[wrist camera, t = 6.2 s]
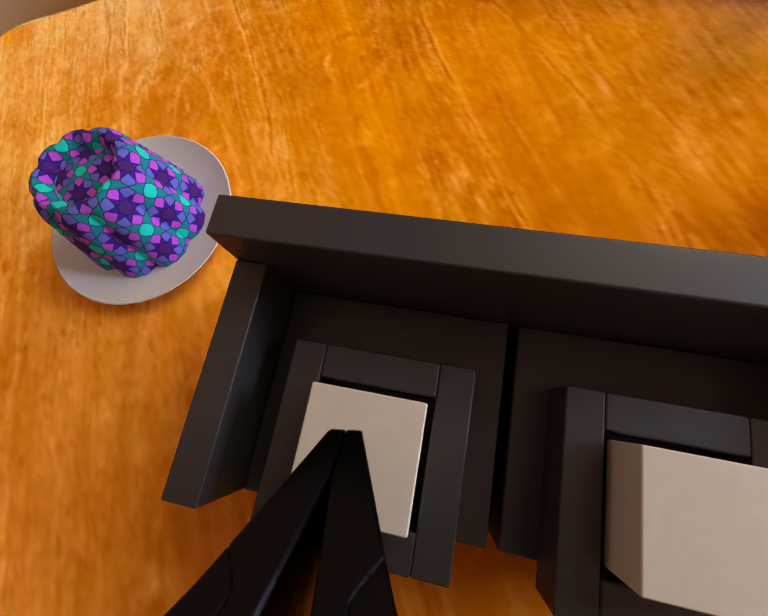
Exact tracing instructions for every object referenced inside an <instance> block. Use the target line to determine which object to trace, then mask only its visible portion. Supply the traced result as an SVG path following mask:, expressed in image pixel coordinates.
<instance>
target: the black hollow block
mask: <svg viewBox="0 0 768 616" xmlns="http://www.w3.org/2000/svg"><path fill="white" fill-rule="evenodd" d="M206 234H208V235H209V236H210V237H211V238H213V239H214V240H215V241H216V242H217V243H219V244H220V245H221V246H222V247H223V248H225V249H226V250H227V251H228V252H230V253H231V254H232V255H233V256H234V257H236V258H237V259H238V260H237V261H236V264H235V268H234V271H233V274H232V277H231V280H230V283H229V287H228V290H227V293H226V296H225V299H224V302H223V305H222V309H221V312H220V315H219V318H218V321H217V324H216V327H215V331H214V334H213V337H212V340H211V343H210V346H209V350H208V353H207V356H206V359H205V362H204V365H203V368H202V372H201V375H200V378H199V381H198V384H197V387H196V391H195V394H194V397H193V400H192V403H191V406H190V409H189V413H188V416H187V419H186V422H185V425H184V428H183V432H182V435H181V438H180V441H179V444H178V447H177V450H176V454H175V457H174V460H173V463H172V466H171V469H170V473H169V476H168V479H167V482H166V485H165V488H164V491H163V495H162V498H161V499H162V500H163V501H167V502H171V503H175V504H179V505H183V506H186V507H190V508H194V509H195V508H198V507H200V506H203V505H205V504H208V503H210V502H212V501H215V500H217V499H219V498H222V497H224V496H227V495H229V494H231V493H234V492H236V491H238V490H241V489H243V488H245V484H246V480H247V476H248V472H249V469H250V465H251V461H252V457H253V453H254V450H255V446H256V442H257V438H258V435H259V431H260V427H261V423H262V419H263V416H264V412H265V408H266V404H267V401H268V397H269V393H270V389H271V385H272V382H273V378H274V374H275V370H276V367H277V363H278V359H279V355H280V351H281V348H282V344H283V340H284V336H285V333H286V329H287V325H288V321H289V317H290V314H291V310H292V306H293V302H294V299H295V295H296V292H304V293H310V294H317V295H323V296H330V297H336V298H343V299H349V300H356V301H362V302H369V303H375V304H382V305H388V306H395V307H401V308H408V309H414V310H421V311H427V312H434V313H440V314H447V315H453V316H460V317H466V318H473V319H479V320H486V321H492V322H499V323H505V324H508V325H509V326H508V336H509V335H511V334H512V333H513V332H514V331H515V330H516V329H517V328H518V327H520V326H524V327H530V328H537V329H543V330H550V331H556V332H563V333H569V334H576V335H582V336H589V337H596V338H602V339H609V340H615V341H622V342H628V343H635V344H641V345H648V346H654V347H661V348H667V349H674V350H680V351H687V352H693V353H700V354H706V355H713V356H719V357H726V358H732V359H739V360H745V361H752V362H758V363H765V364H768V257H763V256H755V255H746V254H737V253H728V252H720V251H711V250H702V249H693V248H685V247H676V246H667V245H658V244H650V243H641V242H632V241H623V240H615V239H606V238H597V237H588V236H580V235H571V234H562V233H553V232H545V231H536V230H527V229H518V228H510V227H501V226H492V225H483V224H475V223H466V222H457V221H448V220H440V219H431V218H422V217H413V216H405V215H396V214H387V213H378V212H370V211H361V210H352V209H343V208H335V207H326V206H317V205H308V204H300V203H291V202H282V201H273V200H265V199H256V198H247V197H238V196H230V195H221V194H220V195H218V198H217V200H216V203H215V206H214V209H213V212H212V215H211V218H210V221H209V223H208V226H207V229H206ZM508 336H507V337H508Z"/></svg>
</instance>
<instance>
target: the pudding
mask: <svg viewBox="0 0 768 616" xmlns="http://www.w3.org/2000/svg"><path fill="white" fill-rule="evenodd" d="M29 191H30V193H31V194H32V196H33V197H34V206H35V208H36V210H37V211H38V213H39V215H40V216H41V217H42V219H43V220H44V221H46V222H47V223H48V224H49V225H50V226H52V227H53V233H52V251H53V255H54V260H55V264H56V266H57V268H58V270H59V273H60V275H61V276H62V278H63V279H64V280H65V281H66V283H67V284H68V285H69V286H70V287H71V288H72V289H73V290H75V291H76V292H77V293H78V294H80V295H82V296H84V297H86V298H88V299H90V300H92V301H96V302H100V303H104V304H115V305H126V304H133V303H140V302H143V301H146V300H150V299H153V298H156V297H158V296H160V295H162V294H164V293H167V292H169V291H171V290H173V289H174V288H176V287H177V286H179V285H180V284H182V283H183V282H184V281H186V280H187V279H189V278H190V277H191V276H192V275H193V274H194V273H195V272H196V271H197V270H198V269H200V268H201V267H202V265H203V264H204V263H205V262H206V261H207V259H208V258H209V257H210V256H211V254H212V253H213V252H214V250H215V248H216V247H217V245H218V243H217V242H216V241H215V240H214V239H213V238H211V237H210V236H209V235H208V234H206V229H207V226H208V223H209V221H210V218H211V215H212V212H213V209H214V206H215V203H216V200H217V198H218V195H220V194H221V195H230V196H231V190H230V184H229V179H228V177H227V174H226V172H225V169H224V167H223V166H222V164H221V163H220V161H219V160H218V159H217V157H216V156H215V155H214V154H213V153H212V152H210V151H209V150H208V149H207V148H206V147H204V146H202V145H200V144H199V143H197V142H195V141H192V140H189V139H186V138H182V137H175V136H153V137H147V138H141V139H138V140H135V141H134V140H132V139H130V138H129V137H127V136H125V135H124V134H122V133H120V132H118V131H116V130H113V129H110V128H101V127H98V128H94V129H91V130H89V131H87V130H84V129H80V130H75V131H71V132H69V133H67V134H66V135H64V136H63V137H62V139H61V140H60V141H59V143H57V144H54V145H50V146H49V147H47V148H46V149H45V150H44V151H43V152H42V154H41V155H40V157H39V158H38V167H37V168H36V169H35V170H34V171H33V172H32V173H31V175H30V179H29Z"/></svg>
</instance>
